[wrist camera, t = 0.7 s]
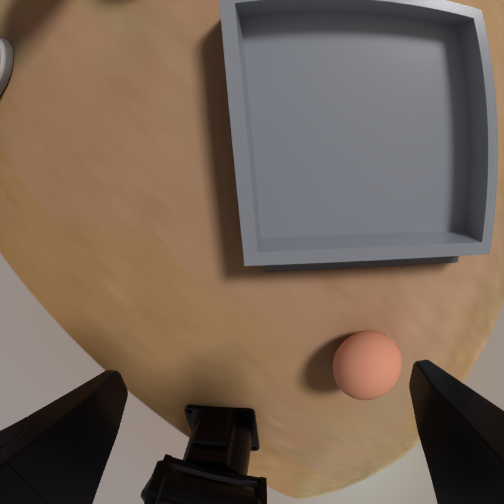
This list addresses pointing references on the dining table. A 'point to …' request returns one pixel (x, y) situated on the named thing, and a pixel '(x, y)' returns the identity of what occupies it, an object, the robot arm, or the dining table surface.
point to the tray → (360, 129)
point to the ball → (367, 365)
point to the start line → (359, 264)
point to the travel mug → (5, 62)
